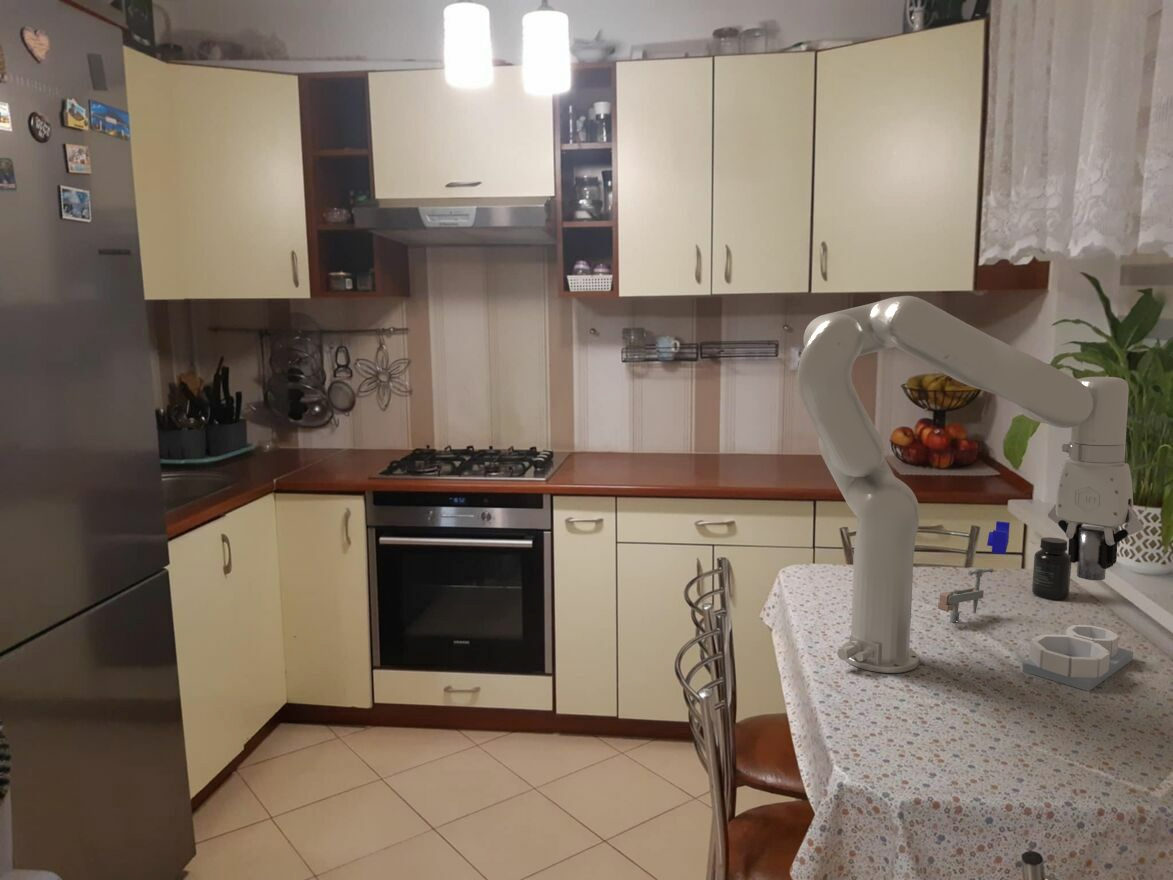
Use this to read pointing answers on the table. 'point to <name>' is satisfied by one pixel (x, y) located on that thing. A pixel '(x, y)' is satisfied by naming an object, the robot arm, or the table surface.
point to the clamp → (962, 596)
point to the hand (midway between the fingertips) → (1091, 562)
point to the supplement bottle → (1052, 570)
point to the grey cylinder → (1090, 553)
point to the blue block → (999, 537)
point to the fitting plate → (1077, 656)
